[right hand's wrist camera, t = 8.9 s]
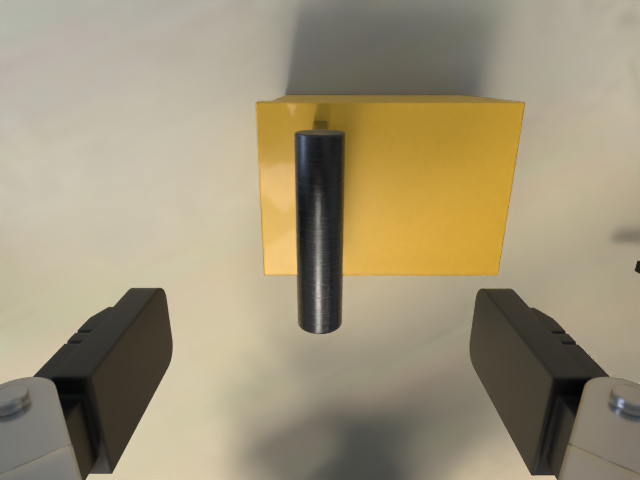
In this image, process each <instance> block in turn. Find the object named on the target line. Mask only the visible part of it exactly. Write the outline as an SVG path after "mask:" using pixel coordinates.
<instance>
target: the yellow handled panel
mask: <svg viewBox="0 0 640 480" xmlns="http://www.w3.org/2000/svg"><path fill="white" fill-rule="evenodd" d="M524 106H525V102H520V101H258V102H256V122H257V143H258V163H259V183H260V203H261V223H262V243H263V263H264V275H297V298H298V324H299V326H300V327H301V328H302V329H303V330H305V331H307V332H310V333H314V334H326V333H330V332H333V331H335V330H337V329H338V328H339V327H340V325H341V323H342V282H343V275H498V270H499V264H500V258H501V251H502V245H503V239H504V232H505V226H506V220H507V214H508V207H509V201H510V195H511V188H512V182H513V176H514V169H515V163H516V157H517V150H518V144H519V138H520V131H521V125H522V119H523V112H524Z"/></svg>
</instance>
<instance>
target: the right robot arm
mask: <svg viewBox="0 0 640 480" xmlns="http://www.w3.org/2000/svg"><path fill="white" fill-rule="evenodd" d="M172 349H173V342H172V334H171V327H170V320H169V313H168V306H167V298H166V294H165V291H164V290H163V289H162V288H131V289H129V290H128V291H127V293H126V294H125V295H124V296H123V297H122V298H121V299H120V300H119V301H118V302H117V304H116V305H115V306H114V307H108V308H106V309H104V310H103V311H101V312H99V313H98V314H96V315H94V316H92V317H91V318H89V319H88V320H87V321H86V322H85V323H84V325H83V326H82V327H81V328H80V329H79V330H78V333H75V334H74V335H73V336H72V337H71V338H70V339H69V340H68V342H67V344H64V345H63V346H62V347H61V348H60V349H59V350H58V351H57V352H56V353H55V354H54V356H53V357H52V358H51V359H50V360H49V361H48V362H47V363H46V364H45V365H44V366H43V367H42V368H41V369H40V370H39V371H38V372H37V373H36V374H35V375H34V376H33V377H27V378H21V379H16V380H12V381H9V382H6V383H3V384H1V385H0V480H86V478H87V476H88V474H112V473H113V471H114V469H115V467H116V465H117V463H118V461H119V459H120V457H121V456H122V454H123V452H124V450H125V448H126V446H127V444H128V442H129V440H130V439H131V437H132V435H133V433H134V431H135V429H136V427H137V425H138V423H139V421H140V420H141V418H142V416H143V414H144V412H145V410H146V408H147V406H148V404H149V403H150V401H151V399H152V397H153V395H154V393H155V391H156V389H157V387H158V386H159V384H160V382H161V380H162V378H163V376H164V374H165V372H166V370H167V369H168V367H169V364H170V361H171V357H172ZM470 357H471V361H472V364H473V367H474V369H475V371H476V372H477V374H478V376H479V378H480V380H481V382H482V384H483V386H484V387H485V389H486V391H487V393H488V395H489V397H490V399H491V401H492V402H493V404H494V406H495V408H496V410H497V412H498V414H499V415H500V417H501V419H502V421H503V423H504V425H505V427H506V429H507V430H508V432H509V434H510V436H511V438H512V440H513V442H514V444H515V445H516V447H517V449H518V451H519V453H520V455H521V457H522V458H523V460H524V462H525V464H526V466H527V468H528V470H529V472H530V473H531V475H555V477H556V478H557V480H640V385H639V384H637V383H634V382H631V381H628V380H624V379H619V378H613V377H609V376H608V375H607V374H606V373H605V372H604V370H603V369H602V368H601V367H600V366H599V365H598V364H597V363H596V362H595V361H594V360H593V359H592V358H591V357H590V356H589V355H588V354H587V353H586V352H585V351H584V350H583V349H582V348H581V347H580V346H579V345H576V342H575V341H574V340H573V339H572V338H571V337H570V336H569V335H568V334H566V333H565V331H564V329H563V328H562V327H561V326H560V325H559V324H558V323H557V322H556V321H555V320H554V319H553V318H551V317H549V316H547V315H546V314H544V313H542V312H540V311H539V310H537V309H535V308H529V307H528V306H527V305H526V303H525V302H524V301H523V300H522V299H521V298H520V297H519V296H518V295H517V294H516V293H515V291H514V290H512V289H480V290H479V291H478V293H477V296H476V302H475V309H474V316H473V323H472V330H471V337H470Z"/></svg>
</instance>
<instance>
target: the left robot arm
mask: <svg viewBox="0 0 640 480" xmlns="http://www.w3.org/2000/svg"><path fill="white" fill-rule="evenodd" d="M635 271H636V272H638V273H640V261H637V264H636V268H635Z"/></svg>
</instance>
